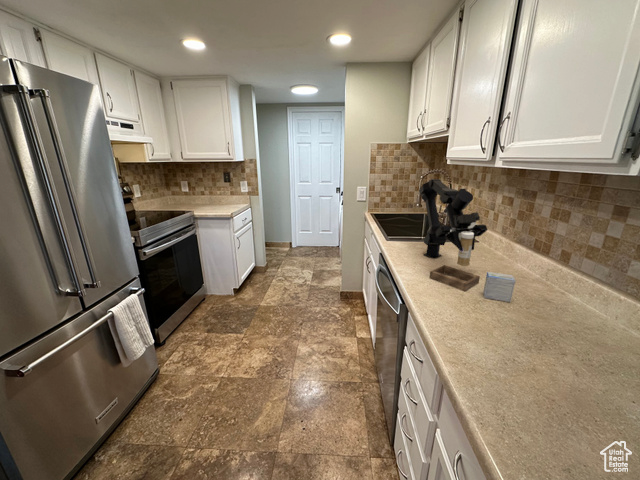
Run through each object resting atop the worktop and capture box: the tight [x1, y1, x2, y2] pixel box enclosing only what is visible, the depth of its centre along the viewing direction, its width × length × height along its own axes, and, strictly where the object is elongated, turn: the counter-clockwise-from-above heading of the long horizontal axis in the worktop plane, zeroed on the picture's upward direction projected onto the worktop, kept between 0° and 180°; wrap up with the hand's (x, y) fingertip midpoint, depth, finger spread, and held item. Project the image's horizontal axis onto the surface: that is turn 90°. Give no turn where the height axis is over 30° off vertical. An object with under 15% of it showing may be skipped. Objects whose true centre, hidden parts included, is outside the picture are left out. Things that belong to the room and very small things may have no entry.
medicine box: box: [482, 271, 516, 303], centre depth 93 cm, size 8×4×9 cm, turn 65°
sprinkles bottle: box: [456, 231, 474, 267], centre depth 104 cm, size 5×5×13 cm
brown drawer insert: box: [429, 264, 481, 292], centre depth 107 cm, size 15×11×3 cm
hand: (467, 249), depth 103 cm, fingers closed on sprinkles bottle, 4 cm apart
